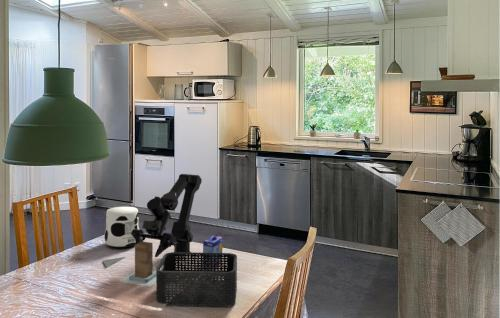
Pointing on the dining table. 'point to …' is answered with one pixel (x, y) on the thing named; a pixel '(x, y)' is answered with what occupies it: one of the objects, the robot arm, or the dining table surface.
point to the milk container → (121, 226)
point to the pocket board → (140, 279)
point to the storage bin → (197, 279)
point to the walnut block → (143, 259)
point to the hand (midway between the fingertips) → (145, 255)
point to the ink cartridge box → (213, 246)
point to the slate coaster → (112, 261)
